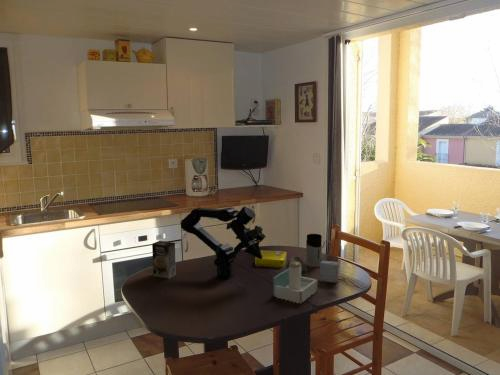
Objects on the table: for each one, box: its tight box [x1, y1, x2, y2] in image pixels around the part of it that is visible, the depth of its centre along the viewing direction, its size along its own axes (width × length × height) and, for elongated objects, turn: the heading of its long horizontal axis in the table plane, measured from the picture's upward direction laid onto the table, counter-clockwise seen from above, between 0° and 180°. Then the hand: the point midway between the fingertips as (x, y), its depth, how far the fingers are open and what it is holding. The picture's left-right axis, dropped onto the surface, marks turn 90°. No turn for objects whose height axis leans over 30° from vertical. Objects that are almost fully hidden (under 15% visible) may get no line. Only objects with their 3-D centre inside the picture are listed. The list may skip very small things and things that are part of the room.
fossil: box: [286, 255, 309, 277], centre depth 209 cm, size 11×9×10 cm
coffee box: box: [151, 240, 177, 279], centre depth 207 cm, size 9×6×16 cm
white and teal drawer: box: [272, 268, 310, 297], centre depth 186 cm, size 12×15×8 cm
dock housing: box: [274, 276, 319, 305], centre depth 185 cm, size 12×16×5 cm
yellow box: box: [254, 249, 288, 268], centre depth 227 cm, size 15×15×5 cm
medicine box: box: [319, 260, 340, 284], centre depth 200 cm, size 8×4×9 cm, turn 71°
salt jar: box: [289, 261, 301, 291], centre depth 185 cm, size 5×5×12 cm
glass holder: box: [304, 233, 333, 268], centre depth 221 cm, size 9×14×15 cm, turn 54°
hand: (261, 258), depth 194 cm, fingers closed
